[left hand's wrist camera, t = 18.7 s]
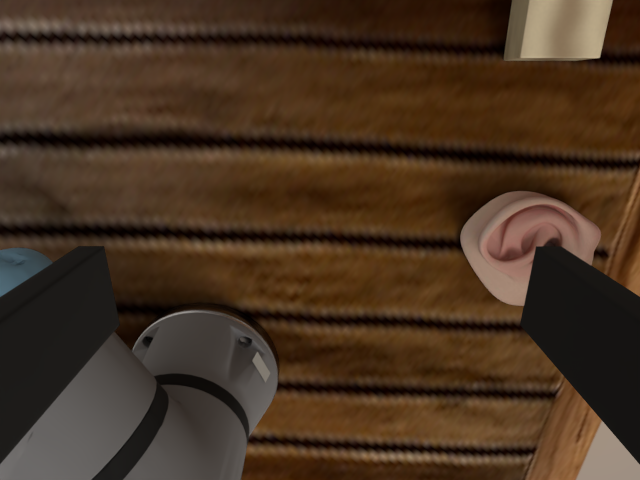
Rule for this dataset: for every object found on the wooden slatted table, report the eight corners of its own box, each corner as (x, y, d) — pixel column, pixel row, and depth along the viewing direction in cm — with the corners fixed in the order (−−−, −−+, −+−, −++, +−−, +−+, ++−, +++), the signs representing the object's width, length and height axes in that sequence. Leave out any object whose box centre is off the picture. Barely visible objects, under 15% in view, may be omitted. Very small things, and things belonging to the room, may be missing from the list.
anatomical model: (635, 300, 36) (511, 350, 38) (606, 281, 40) (494, 326, 41) (600, 169, 32) (463, 231, 34) (571, 160, 35) (449, 217, 37)
